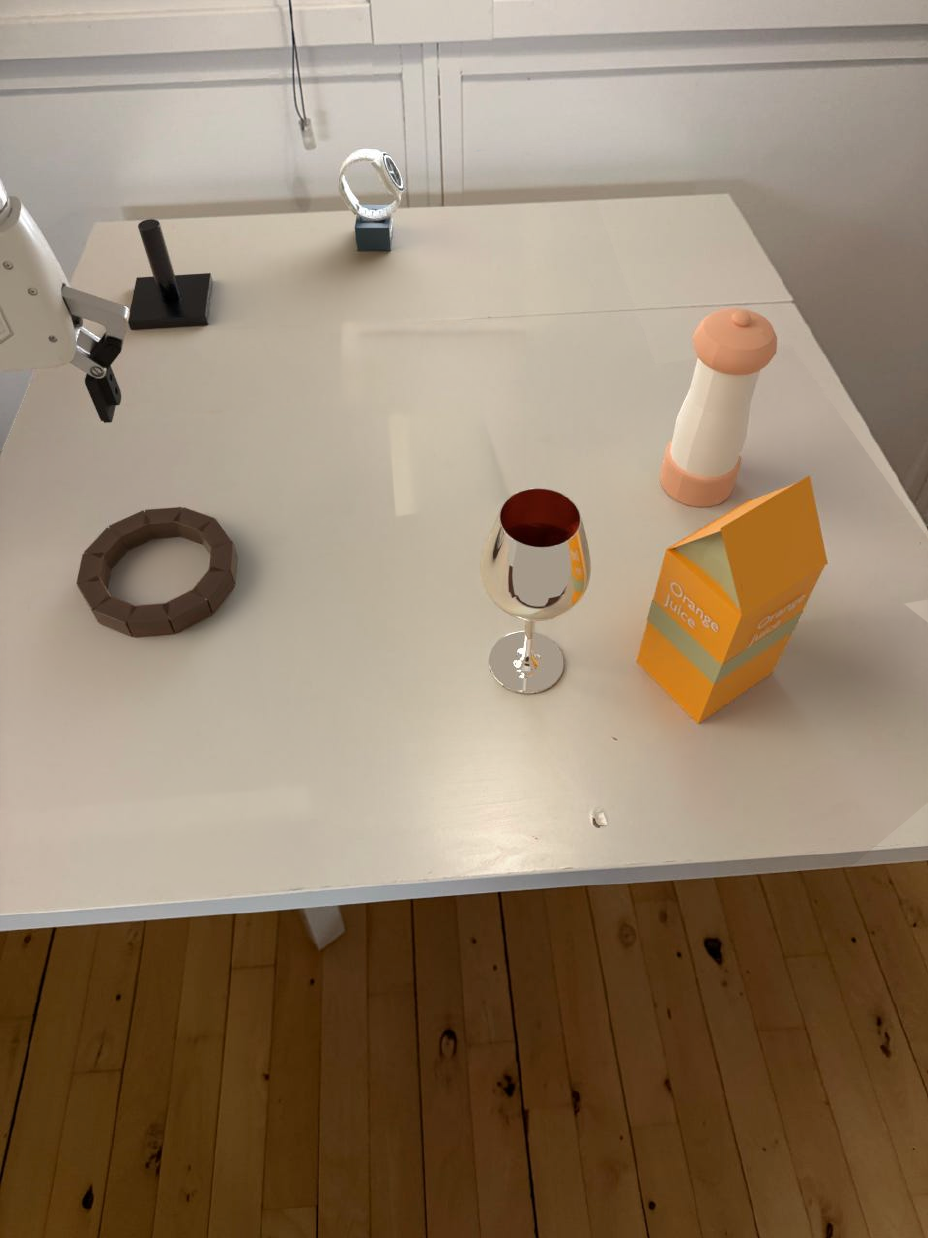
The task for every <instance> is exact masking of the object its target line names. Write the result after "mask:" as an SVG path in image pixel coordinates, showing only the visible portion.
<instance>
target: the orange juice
mask: <svg viewBox="0 0 928 1238" xmlns="http://www.w3.org/2000/svg"><path fill="white" fill-rule="evenodd" d="M811 479H812V478H811V475H808V476H806V477H804V478H803V479H801V480H799V481H797V482H796V483H792V484H790V485H787V486H785V487H783V488H780V489H777V490H775V491H772V492H770V493H767V494H765V495H761V496H760V497H757V498H754V499H749V500H747V501H745V502H744V503H742V504H740V505H739V506H736V507H735V508H734V509H731V510H730V511H729V512H726V513H725V514H723V515H722V516H720V517H718V518H716V519H715V520H713V521H712V522H710V523H708V524H707V525H705V526H702V527H701V528H699V529H697V530H696V531H694V532H693V533H691V534H689V535H688V536H686V537H684V538H683V539H681V540H679V541H677V542H676V543H674V544H672V545H671V546H669V547H667V548H666V549H665V553H664V557H663V560H662V565H661V568H660V572H659V575H658V579H657V583H656V587H655V591H654V594H653V597H652V600H651V603H650V606H649V609H648V614H647V618H646V625H645V629H644V632H643V635H642V640H641V644H640V647H639V650H638V655H637V659H636V663H637V664H638V665H639V666H640V667H641V668H642V669H643V670H644V671H645V672H646V673H647V674H648V675H649V676H650V677H651V678H652V679H653V680H654V681H655V682H656V683H657V685H659V686H660V687H661V689H663V690H664V691H665V692H666V693H667V694H668V696H670V697H671V698H672V700H674V702H676V703H677V704H678V706H680V707H681V709H682V710H684V712H686V713H687V714H688V716H689V717H691V719H692V720H693V721H694V722H695V723H696V724H698V725H699V724H700V723H702V722H703V721H705V720H706V719H708V718H709V717H710V716H712V715H713V714H715V713H716V712H718V711H719V710H721V709H722V708H723V707H725V706H727V705H728V704H729V703H730V702H732V701H733V700H735V699H737V698H738V697H740V696H741V695H742V694H744V693H745V692H747V691H748V690H749V689H751V688H752V687H754V686H755V685H757V684H758V683H759V682H761V681H762V680H764V679H766V678H767V677H768V676H770V675H771V674H772V673H774V671H775V668H776V667H777V664H778V663H779V660H780V658H781V656H782V654H783V652H784V650H785V648H786V646H787V644H788V642H789V640H790V638H791V636H792V634H793V632H794V631H795V629H796V627H797V625H798V623H799V621H800V619H801V617H802V615H803V613H804V609H805V607H806V606H807V603H808V601H809V599H810V597H811V595H812V593H813V591H814V589H815V588H816V587H815V586H816V584H817V583H818V581H819V579H820V576H821V575H822V572H823V570H824V568H825V566H827V565H828V558H827V553H826V549H825V544H824V538H823V533H822V528H821V524H820V520H819V514H818V509H817V504H816V499H815V494H814V490H813V484H812V480H811Z"/></svg>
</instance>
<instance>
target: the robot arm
mask: <svg viewBox="0 0 928 1238" xmlns="http://www.w3.org/2000/svg"><path fill="white" fill-rule="evenodd" d="M129 315H130V308H128V307H127V306H126V305H123V304H121V303H118V302H115V301H112V300H109V299H105V298H103V297H99V296H96V295H93V294H91V293H88V292H84V291H81V290H78V289H76V288H73V287H71V285H70V283H69V281H68V279H67V276H66V274H65V272H64V271H63V268H62V267H61V264H60V263H59V261H58V259H57V257H56V255H55V253H54V252H53V250H52V248H51V246H50V244H49V243H48V241H47V239H46V237H45V236H44V234H43V232H42V231H41V229H40V228H39V226H38V224H37V223H36V222H35V220H34V218H33V217H32V215H31V214H30V212H29V211H28V209H27V208H26V207H25V205H24V204H23V202H22V201H21V200H20V198H19V197H17V196H14V195H8V192H7V190H6V188H5V185H4V183H3V180H2V179H1V177H0V373H2V372H3V373H4V372H16V371H17V372H18V371H30V370H31V371H32V370H45V369H53V368H59V367H63V366H65V365H66V366H67V365H68V364H69V363H70V364H71V365H72V366H75V367H76V368H78V369H79V370H81V371H83V372H84V373H86V374H85V378H84V385H85V387H86V390H87V392H88V395H89V397H90V399H91V402H92V403H93V406H94V408H95V411H96V413H97V415H98V417H99V420H100V422H103V423H104V424H106V423H109V424H110V423H113V421H114V416H115V411H116V406H120V405H121V402H122V392H121V389H120V385H119V383H118V381H117V378H116V375H115V373H114V371H113V368H112V366H111V365H112V364H113V363H114V361H115V360H116V359H117V358H118V356H119V355H120V354H121V353H122V350H123V344H124V340H125V335H126V332H127V328H128V325H129V324H128V320H129ZM84 320H87V321H90V322H94V323H97V324H99V325H102V326H103V327H104V328H105V332H104V333H103V335H102V336H101V337H98V336H97V335H95V334H94V333H92V332H91V331H89V330H88V329H86V328H85V327H83V325H84Z"/></svg>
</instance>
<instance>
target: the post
mask: <svg viewBox="0 0 928 1238" xmlns="http://www.w3.org/2000/svg"><path fill="white" fill-rule="evenodd" d="M137 230H138V231H139V235H140V238H141V241H142V245H143V247H144V251H145V255H146V257H147V259H148V260H147V261H148V264H149V267H150V270H151V273H152V276H138V277H136V279H135V282H134V283H135V284H134V288H133V294H132V299H131V303H130V308H129V311H130V315H129V320H128V324H127V325H128V327H129V329H130V330H132V331H134V330H148V329H150V330H151V329H162V328H164V329H165V328H180V327H194V326H196V327H197V326H208V325H209V318H210V310H209V309H211V302H210V297H211V298H212V293H211V289H212V290H213V285H212V280H213V276H212V273H211V272H206V273H205V272H204V273H190V274H189V273H188V274H175V271H174V267H173V263H172V260H171V258H170V257H171V256H170V254H169V250H168V247H167V246H168V245H167V244H166V243H167V242H166V240H165V236H164V233H163V229H162V226H161V223H160V221H159V220H157V219H154V218H148V219H144V220H142V221H140V222H138V225H137Z"/></svg>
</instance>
